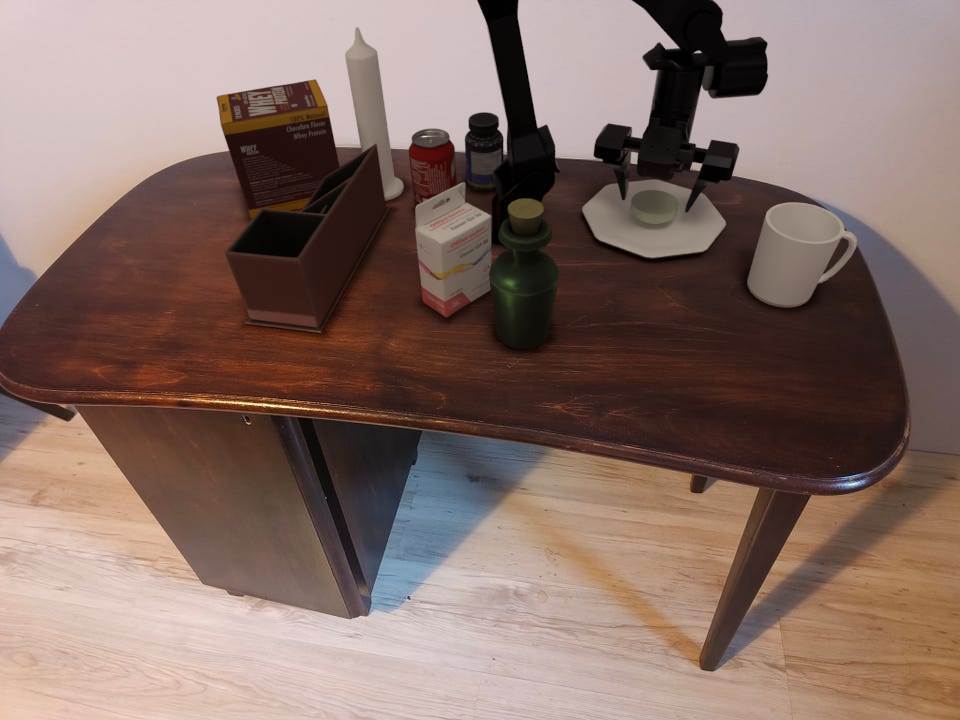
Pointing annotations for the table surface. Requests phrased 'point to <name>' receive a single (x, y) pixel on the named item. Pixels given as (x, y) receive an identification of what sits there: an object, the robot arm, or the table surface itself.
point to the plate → (653, 240)
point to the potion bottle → (523, 277)
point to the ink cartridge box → (452, 251)
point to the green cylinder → (654, 206)
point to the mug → (796, 253)
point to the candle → (371, 109)
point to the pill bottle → (483, 150)
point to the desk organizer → (309, 248)
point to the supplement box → (279, 143)
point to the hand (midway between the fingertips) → (654, 205)
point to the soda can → (432, 165)
